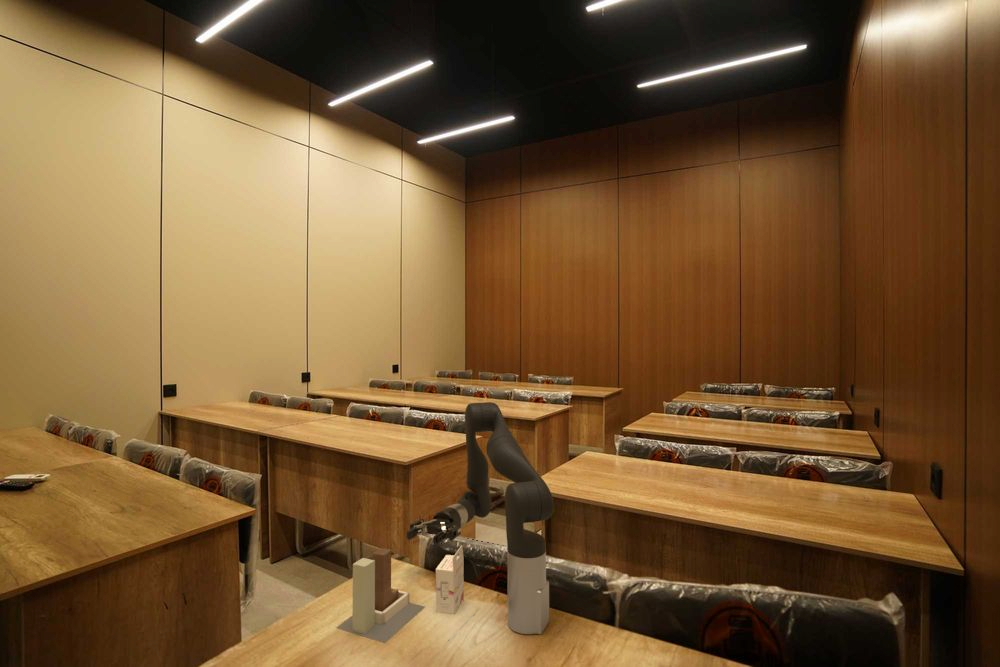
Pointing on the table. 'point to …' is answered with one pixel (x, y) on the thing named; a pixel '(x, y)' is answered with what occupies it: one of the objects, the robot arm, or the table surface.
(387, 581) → the wooden block
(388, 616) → the base plate
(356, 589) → the sage pillar
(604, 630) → the table surface
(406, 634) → the table surface
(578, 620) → the table surface
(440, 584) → the ink cartridge box
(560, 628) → the table surface
